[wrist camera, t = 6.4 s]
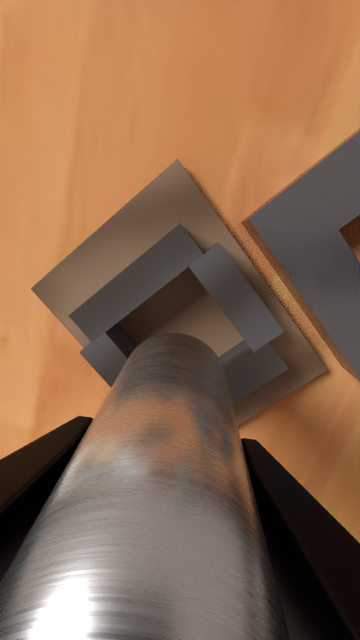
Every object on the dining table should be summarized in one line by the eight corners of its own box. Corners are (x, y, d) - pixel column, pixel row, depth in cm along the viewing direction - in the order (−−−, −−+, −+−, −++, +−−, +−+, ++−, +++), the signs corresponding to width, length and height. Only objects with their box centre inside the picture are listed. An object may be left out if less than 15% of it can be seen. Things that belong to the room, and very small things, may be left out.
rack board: (321, 363, 20) (347, 388, 16) (184, 450, 22) (182, 487, 19) (178, 163, 17) (174, 143, 14) (39, 286, 19) (6, 295, 16)
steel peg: (245, 391, 11) (577, 1323, 2) (166, 442, 12) (50, 1281, 2) (183, 311, 10) (66, 1092, 1) (102, 371, 11) (-449, 1146, 2)
